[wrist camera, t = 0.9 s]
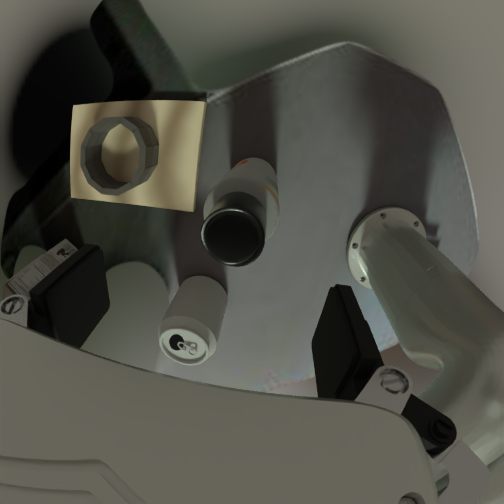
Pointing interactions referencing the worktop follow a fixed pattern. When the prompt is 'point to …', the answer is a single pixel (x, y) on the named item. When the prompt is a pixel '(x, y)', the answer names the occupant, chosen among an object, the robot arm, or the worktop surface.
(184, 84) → the worktop surface
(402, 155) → the worktop surface
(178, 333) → the can
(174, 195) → the bottle holder
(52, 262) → the coffee box
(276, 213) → the lotion bottle
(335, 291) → the robot arm
